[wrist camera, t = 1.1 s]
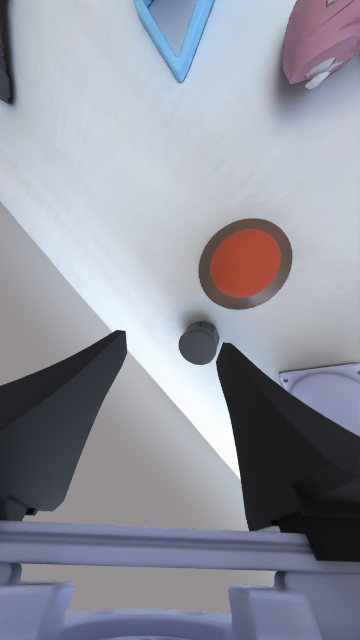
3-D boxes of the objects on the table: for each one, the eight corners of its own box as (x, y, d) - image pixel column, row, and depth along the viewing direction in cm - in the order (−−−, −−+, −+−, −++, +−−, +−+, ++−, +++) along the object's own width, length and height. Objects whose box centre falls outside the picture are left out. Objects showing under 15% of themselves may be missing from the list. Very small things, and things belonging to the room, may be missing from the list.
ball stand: (301, 289, 15) (310, 291, 13) (216, 318, 19) (214, 322, 18) (273, 199, 14) (279, 187, 12) (188, 251, 18) (183, 248, 16)
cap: (224, 346, 20) (222, 361, 17) (194, 353, 22) (187, 367, 19) (211, 316, 19) (206, 325, 16) (182, 326, 22) (172, 336, 18)
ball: (277, 281, 15) (304, 282, 9) (224, 301, 17) (220, 312, 12) (260, 226, 14) (277, 195, 9) (206, 257, 16) (194, 246, 11)
